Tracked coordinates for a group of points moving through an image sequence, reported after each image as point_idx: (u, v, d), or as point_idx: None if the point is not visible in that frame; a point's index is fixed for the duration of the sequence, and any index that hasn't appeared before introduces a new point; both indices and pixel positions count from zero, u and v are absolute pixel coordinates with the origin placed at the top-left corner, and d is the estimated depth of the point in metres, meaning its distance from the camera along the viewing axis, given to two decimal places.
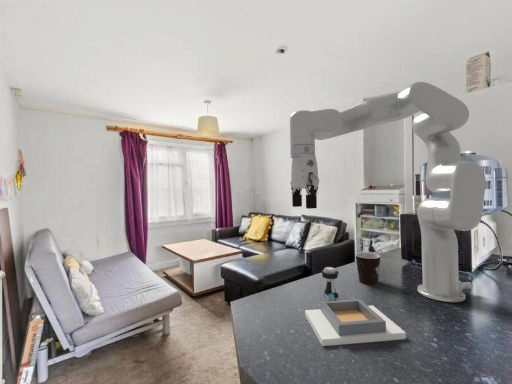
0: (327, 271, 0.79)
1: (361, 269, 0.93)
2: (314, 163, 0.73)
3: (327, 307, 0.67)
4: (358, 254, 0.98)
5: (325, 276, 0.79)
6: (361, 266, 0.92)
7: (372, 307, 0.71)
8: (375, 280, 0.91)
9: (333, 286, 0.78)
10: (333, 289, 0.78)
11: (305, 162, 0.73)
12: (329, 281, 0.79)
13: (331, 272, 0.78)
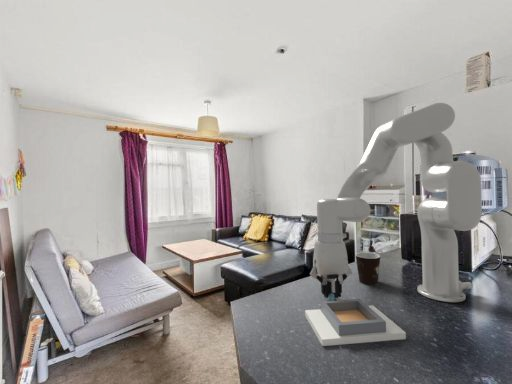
0: None
1: (361, 269, 0.93)
2: None
3: (327, 307, 0.67)
4: (358, 254, 0.98)
5: None
6: (361, 266, 0.92)
7: (372, 307, 0.71)
8: (375, 280, 0.91)
9: (333, 286, 0.78)
10: (333, 289, 0.78)
11: None
12: (329, 281, 0.79)
13: None
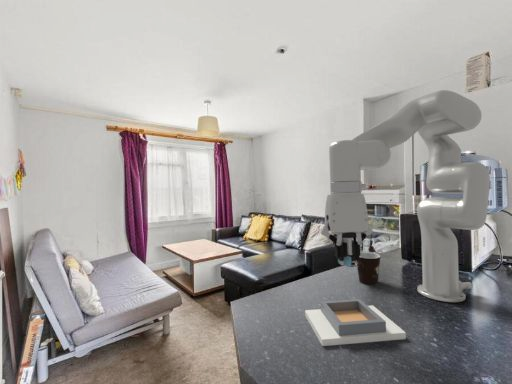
0: None
1: (361, 269, 0.93)
2: None
3: (327, 307, 0.67)
4: None
5: None
6: (361, 266, 0.92)
7: (372, 307, 0.71)
8: (375, 280, 0.91)
9: (350, 247, 0.64)
10: (350, 251, 0.64)
11: (365, 202, 0.64)
12: (344, 242, 0.65)
13: None
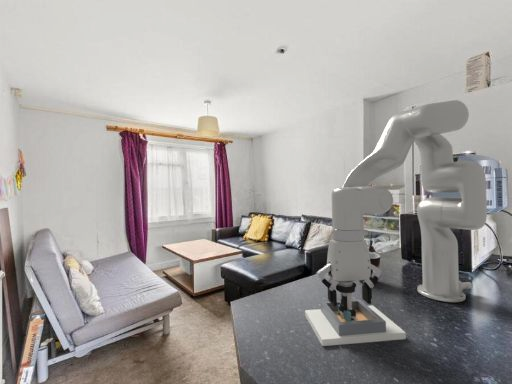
0: (342, 283, 0.64)
1: None
2: None
3: (327, 307, 0.67)
4: None
5: (339, 289, 0.64)
6: None
7: (372, 307, 0.71)
8: None
9: (349, 302, 0.64)
10: (349, 305, 0.64)
11: (368, 250, 0.63)
12: (344, 295, 0.65)
13: (347, 284, 0.64)
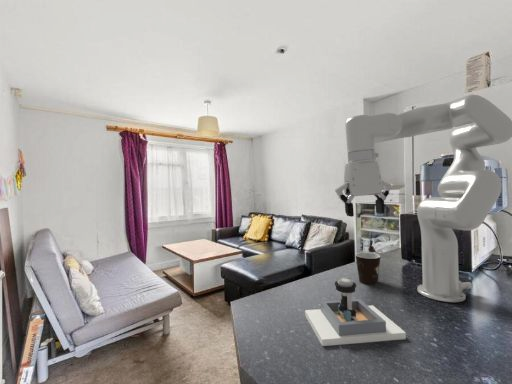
0: (342, 283, 0.64)
1: (361, 269, 0.93)
2: None
3: (327, 307, 0.67)
4: (358, 254, 0.98)
5: (339, 289, 0.64)
6: (361, 266, 0.92)
7: (372, 307, 0.71)
8: (375, 280, 0.91)
9: (349, 302, 0.64)
10: (349, 305, 0.64)
11: None
12: (344, 295, 0.65)
13: (347, 284, 0.64)
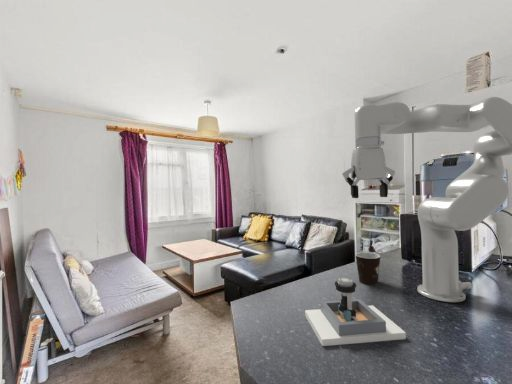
0: (342, 283, 0.64)
1: (361, 269, 0.93)
2: None
3: (327, 307, 0.67)
4: (358, 254, 0.98)
5: (339, 289, 0.64)
6: (361, 266, 0.92)
7: (372, 307, 0.71)
8: (375, 280, 0.91)
9: (349, 302, 0.64)
10: (349, 305, 0.64)
11: None
12: (344, 295, 0.65)
13: (347, 284, 0.64)
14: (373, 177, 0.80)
